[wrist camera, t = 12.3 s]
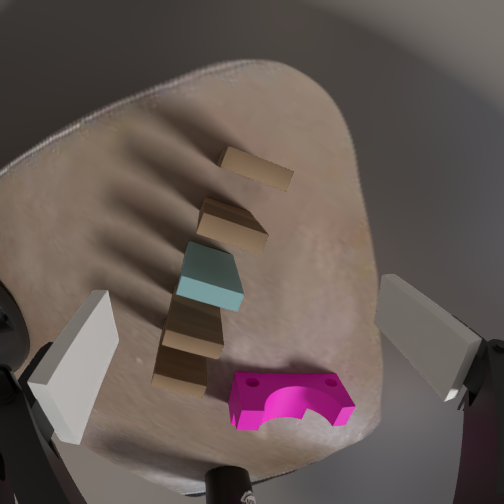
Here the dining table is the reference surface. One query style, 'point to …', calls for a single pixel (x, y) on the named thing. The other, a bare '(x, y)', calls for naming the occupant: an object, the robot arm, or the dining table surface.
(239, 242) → the domino
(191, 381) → the domino
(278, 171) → the domino
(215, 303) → the domino
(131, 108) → the dining table surface
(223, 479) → the water bottle
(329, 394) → the toy block
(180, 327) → the domino
